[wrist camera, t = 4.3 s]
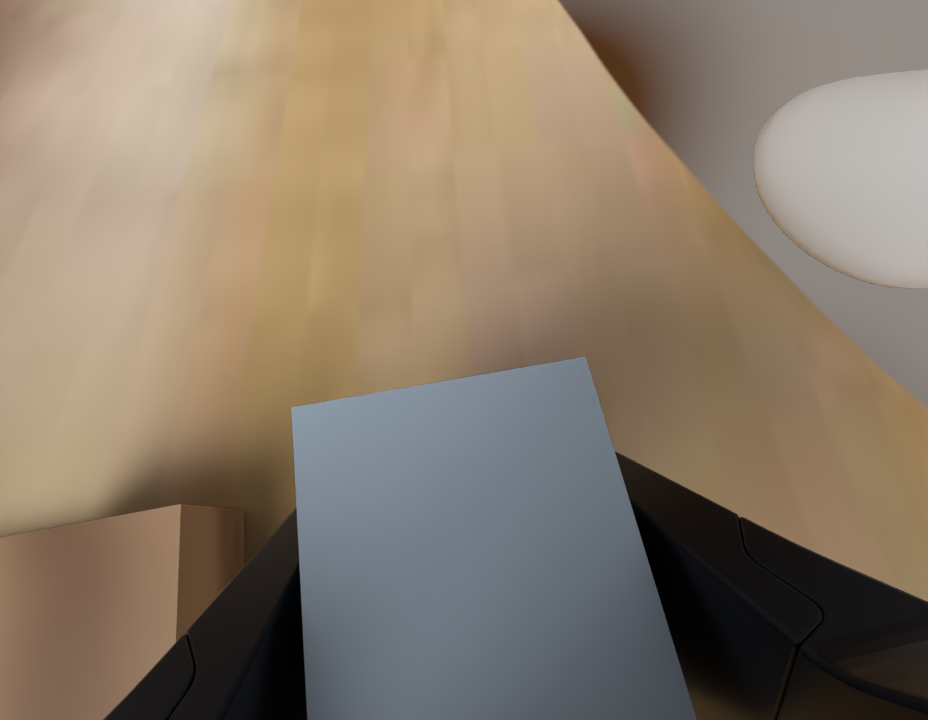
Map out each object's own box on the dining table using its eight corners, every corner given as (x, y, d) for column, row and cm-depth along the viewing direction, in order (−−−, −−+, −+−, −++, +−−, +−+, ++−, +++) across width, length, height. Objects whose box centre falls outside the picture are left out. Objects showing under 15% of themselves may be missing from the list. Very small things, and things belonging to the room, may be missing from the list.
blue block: (538, 601, 15) (706, 752, 5) (411, 629, 15) (314, 852, 5) (507, 459, 17) (585, 356, 7) (392, 481, 17) (291, 406, 6)
